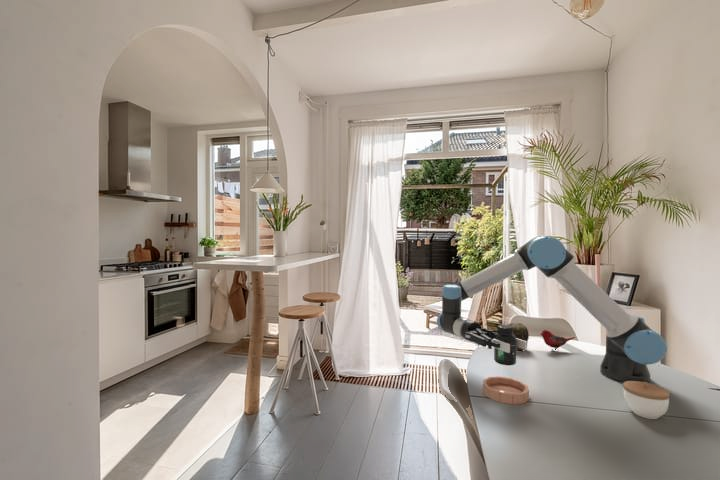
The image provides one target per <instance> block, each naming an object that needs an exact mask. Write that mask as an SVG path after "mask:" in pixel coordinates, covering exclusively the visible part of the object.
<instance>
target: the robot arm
mask: <svg viewBox="0 0 720 480" xmlns="http://www.w3.org/2000/svg"><path fill="white" fill-rule="evenodd" d="M533 268H537V269H538V270H539V271H540V272H541V273H543V275H545V277H546V278H550V279H555V281H556V282H558V283H559V285H561V286H562V287H563V288H564V289H565V290H566V291H567V292H568V294H570V295H571V296H572V297H573V298H574V299H575V300H576V301H577V302H578V303H579V304H580V305H581V306H582V307H583V308H584V309H586V311H587V312H588V313H589V314H590V315H591V316H593V317H594V319H595V320H597V322H599V323H600V325H602V327H603V328H605V354H604V357H603V359H602V361H601V363H600V368H599V369H600V370H599V372H600V373H601V374H602V375H603V376H605V377H607V378H609V379H611V380H615V381H619V382H621V383H622V382H623V383H624V382H626V381H640V382H647V383H650V382H651V373H650V370H649V367H648V365H654V364H657V363H659V362H661V361H662V360H663V359H664V358H665V356H666V354H667V351H668V346H667V345H668V344H667V342H666V341H665V339H664V337H663V336H662V335H661V334H660V333H658V332H656V331H654V330H653V329H652V328H651V327H650V326H648V325H647V324H646V321H645V318H644V317H642V316H638V315H636V314H631V313H630V314H629V313H628V312H626V310H624V309H623V308H622V306H620V305H619V304H618V303H617V302H616V301H615V300H614V299H613V298H612V297H611V296H610V295H609V294H607V292H605V291H604V290H603V289H602V288H601V286H599V285H598V284H597V283H596V282H595V281H594V280H593V279H592V278H591V277H590V276H589V275H587V273H586V272H585V271H584V270H582V268H580V267H579V266H578V265H577V264H576V263H575V256H574V255H573V254H572V253H571V252H570V251H568V249H566V247H565V245H564V244H563V242H562V241H561V240H559V238H556V237H554V236H551V235H539V236H535V237H533V238H531V239H530V240H529V241H527V242H526V243H524V244H523V245H521V246H520V247H517V248H516V249H515V250H514V252H513V254H510V255H509V256H506V257H504V258H503V259H501V260H499V261H497V262H495V263H493V264H491V265H490V266H488V267H486V268H484V269H482V270H479V271H478V272H476V273H474V274H473V275H471V276H469V277H467V278H465V279H463V280H461V281H459V282H457V283H456V284H444V285H443V286H442V290H441V291H442V292H441V297H442V298H441V305H442V306H441V309H442V310H441V313H439V314H438V315H437V318H436V325H437V327H438V329H440V330H442V331H444V332H446V333H448V334H451V335H453V336H456V337H460V338H461V339H462V340H467V341H469V342H471V343H472V342H473V343H475V344H477V345H478V346H481V347H484V348H486V347H487V349H489V350H492V348H497V349H499V350H502V351H504V352H507V353H510V344H508V343H505V342H502V341H499V340H497V339H494V336H495V334H496V333H498V331H497V329H495V328H490V329H487V328H485V327H482V325H481V323H479V322H478V321H475V320H471V319H469V318H465V317H462V302H463V301H465V300H467V299H468V298H470V297H472V296H474V295H476V294H479V293H480V292H482V291H483V290H486V289H488V288H490V287H492V286H494V285H496V284H498V283H500V282H501V281H504V280H506V279H508V278H510V277H512V276H514V275H516V274H518V273H519V272H522V271H524V270H525V271H529V270H531V269H533ZM516 347H518V348H521V349H524V350H525V351H527V350H528V342H527V341H524V340H521V339H518V338H516Z"/></svg>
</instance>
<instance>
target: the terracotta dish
mask: <svg viewBox="0 0 720 480" xmlns="http://www.w3.org/2000/svg"><path fill="white" fill-rule="evenodd" d="M482 380H483V381H482V394H484V396H486V397H487V398H488V399H491V400H493V401H495V402H499V403H502V404H508V405H509V404H510V405H518V404H519V405H520V404H525V403H526V402H528V401H530V389H529V386H528V385H527V384H525V383H524V382H523V381H521V380H518V379H515V378H513V377H506V376H488V377H486V378H484V379H482Z"/></svg>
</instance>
